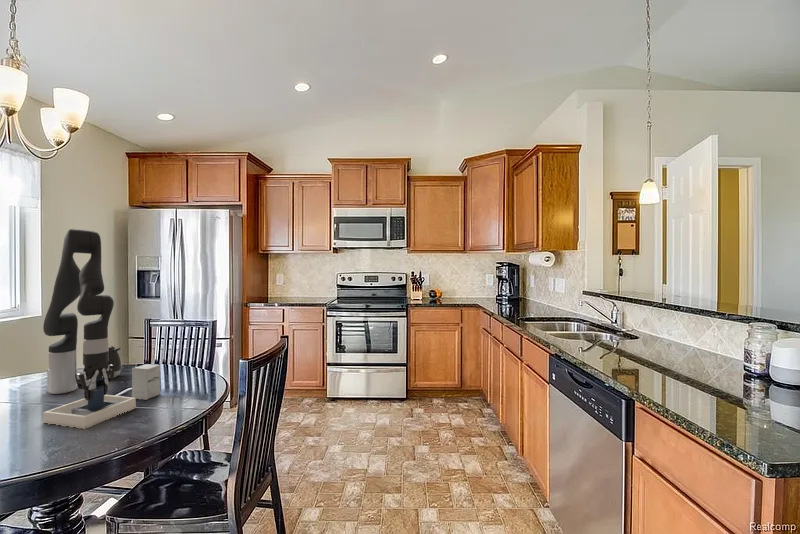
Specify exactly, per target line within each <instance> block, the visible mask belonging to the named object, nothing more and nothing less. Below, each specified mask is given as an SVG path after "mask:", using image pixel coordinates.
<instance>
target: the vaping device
mask: <svg viewBox="0 0 800 534" xmlns="http://www.w3.org/2000/svg"><path fill="white" fill-rule="evenodd" d="M103 379H104V378H103V377H102V378H98V379H96V380H95V386H92V400H88V410H94V411H95V410H98V409H100V408H103V407H104V380H103Z"/></svg>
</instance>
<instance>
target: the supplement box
mask: <svg viewBox="0 0 800 534" xmlns="http://www.w3.org/2000/svg"><path fill="white" fill-rule="evenodd" d="M159 395H161V364H149V363H145V364H142V365H139V366H136V367H132V369H131V397H133V398H136V400H142V399H143V400H146V401H147V400H149V399H151V398H154V397H157V396H159Z"/></svg>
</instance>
